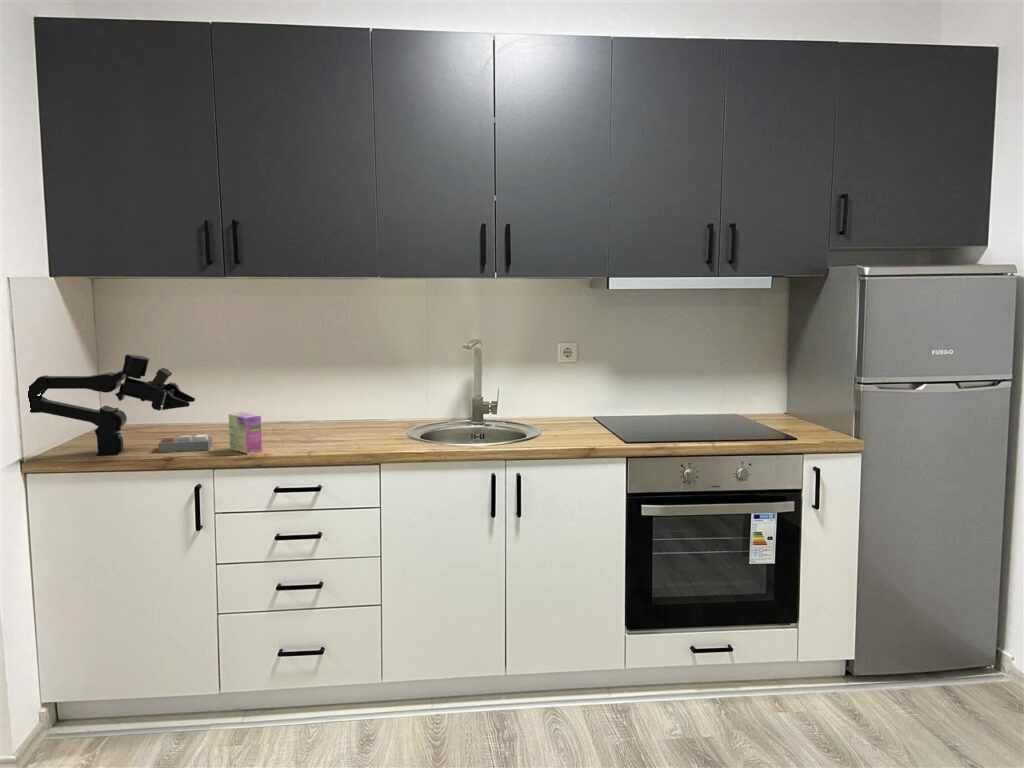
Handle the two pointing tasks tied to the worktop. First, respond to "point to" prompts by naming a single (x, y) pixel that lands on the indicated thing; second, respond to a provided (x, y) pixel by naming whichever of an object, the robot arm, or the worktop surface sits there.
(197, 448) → the button panel
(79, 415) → the robot arm
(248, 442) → the box
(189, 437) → the green button
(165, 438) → the red button
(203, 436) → the cream button
